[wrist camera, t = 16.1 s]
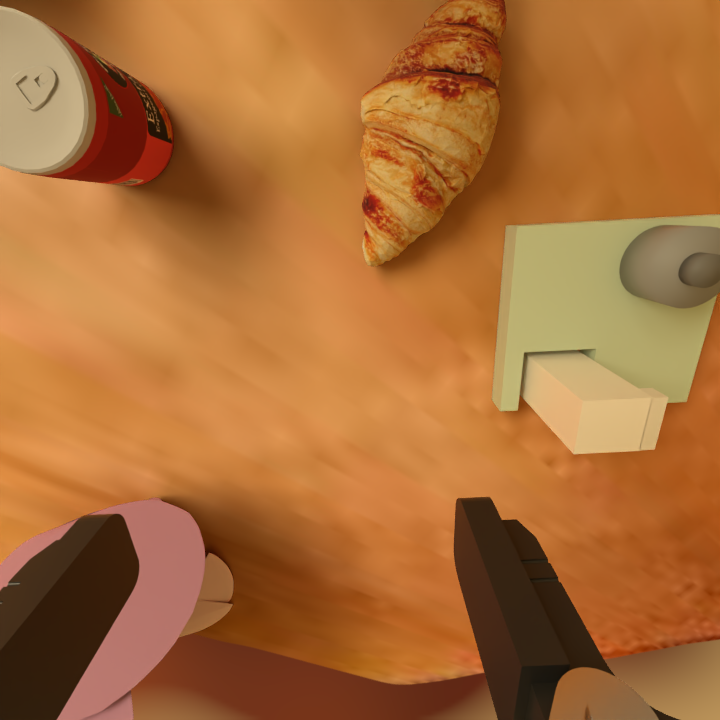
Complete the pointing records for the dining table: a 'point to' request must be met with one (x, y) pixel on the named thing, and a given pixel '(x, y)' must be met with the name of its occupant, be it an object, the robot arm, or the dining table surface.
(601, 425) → the beige bar
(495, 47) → the croissant
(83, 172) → the canned food
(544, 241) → the deck
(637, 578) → the dining table surface
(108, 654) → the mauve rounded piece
